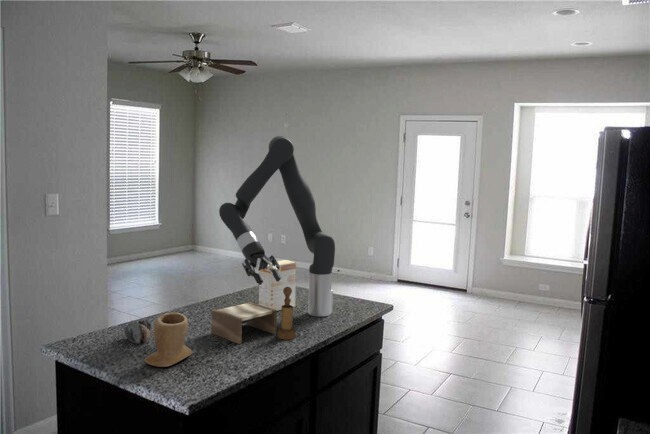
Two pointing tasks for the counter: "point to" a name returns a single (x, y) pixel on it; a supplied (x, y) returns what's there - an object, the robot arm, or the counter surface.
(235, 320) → the brown upright panels
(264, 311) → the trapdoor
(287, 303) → the brown wooden pepper mill
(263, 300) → the coffeecake box
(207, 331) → the counter surface
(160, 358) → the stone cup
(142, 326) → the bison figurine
